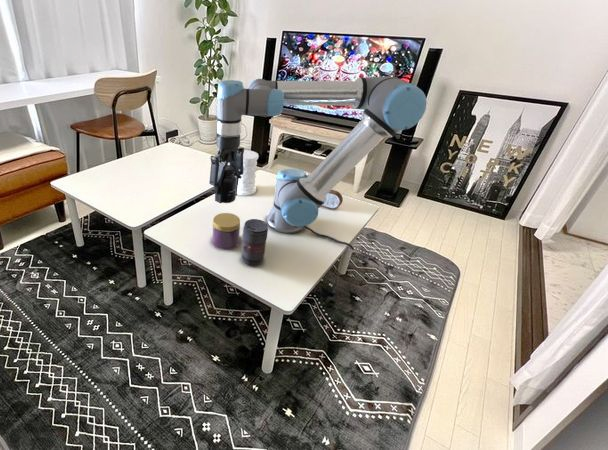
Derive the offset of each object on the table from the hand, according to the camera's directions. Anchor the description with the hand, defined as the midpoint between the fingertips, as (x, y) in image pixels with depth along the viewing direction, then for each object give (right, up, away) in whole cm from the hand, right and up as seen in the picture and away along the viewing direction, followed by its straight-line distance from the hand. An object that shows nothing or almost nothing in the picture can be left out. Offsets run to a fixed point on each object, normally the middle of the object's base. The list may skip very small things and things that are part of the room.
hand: (226, 198), depth 120 cm
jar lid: (0, -8, +5) cm, 9 cm away
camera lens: (+9, -22, 0) cm, 24 cm away
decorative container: (+11, +7, +46) cm, 48 cm away
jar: (0, -16, +10) cm, 18 cm away
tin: (+45, -1, +33) cm, 56 cm away
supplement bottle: (0, -1, 0) cm, 1 cm away
